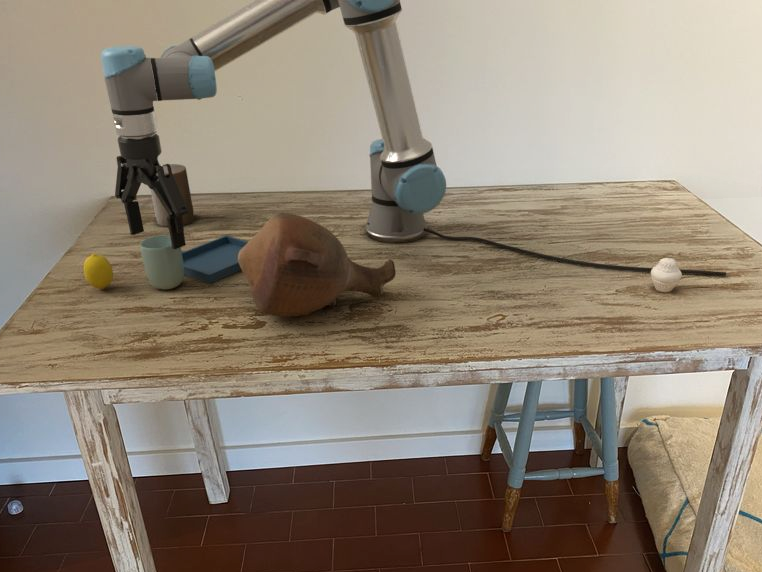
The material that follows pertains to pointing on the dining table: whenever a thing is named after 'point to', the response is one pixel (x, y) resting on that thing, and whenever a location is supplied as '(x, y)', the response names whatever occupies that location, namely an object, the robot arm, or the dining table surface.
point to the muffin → (666, 275)
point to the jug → (303, 268)
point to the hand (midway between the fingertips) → (157, 240)
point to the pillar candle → (183, 186)
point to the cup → (162, 262)
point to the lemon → (98, 271)
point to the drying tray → (213, 259)
